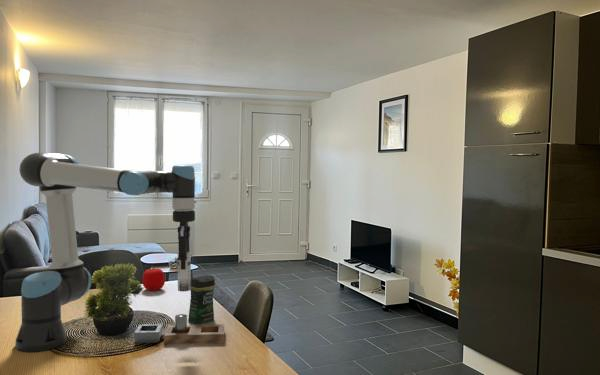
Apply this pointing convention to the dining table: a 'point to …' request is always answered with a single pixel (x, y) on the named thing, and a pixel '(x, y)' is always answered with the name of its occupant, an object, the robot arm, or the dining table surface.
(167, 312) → the dining table surface
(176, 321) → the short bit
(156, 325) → the socket block
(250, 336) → the dining table surface
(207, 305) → the coffee jar
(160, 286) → the tomato
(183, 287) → the grey metal cylinder
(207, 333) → the rack
